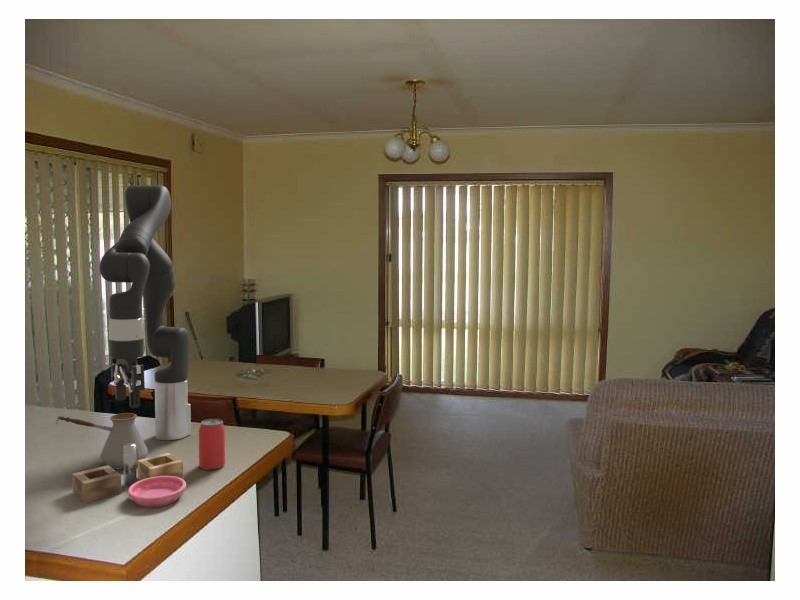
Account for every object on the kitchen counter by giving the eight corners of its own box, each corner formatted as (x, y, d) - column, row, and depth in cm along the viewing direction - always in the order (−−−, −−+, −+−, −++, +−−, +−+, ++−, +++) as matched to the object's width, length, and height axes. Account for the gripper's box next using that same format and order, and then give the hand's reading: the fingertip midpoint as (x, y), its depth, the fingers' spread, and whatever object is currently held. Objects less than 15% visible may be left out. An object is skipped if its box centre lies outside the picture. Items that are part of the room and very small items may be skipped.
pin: (133, 481, 148) (133, 442, 147) (138, 484, 146) (137, 444, 145) (122, 484, 146) (121, 444, 145) (126, 488, 144) (126, 447, 143)
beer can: (230, 463, 162) (230, 419, 160) (214, 472, 155) (214, 426, 154) (209, 459, 164) (209, 417, 163) (193, 468, 158) (193, 423, 156)
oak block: (168, 469, 156) (168, 452, 156) (183, 478, 151) (183, 461, 150) (137, 477, 150) (137, 460, 150) (151, 487, 145) (151, 469, 145)
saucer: (167, 513, 132) (167, 499, 132) (116, 507, 134) (116, 494, 134) (195, 490, 144) (195, 477, 144) (148, 485, 146) (148, 473, 146)
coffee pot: (143, 453, 168) (142, 400, 166) (152, 466, 158) (151, 410, 157) (55, 467, 156) (53, 410, 154) (58, 482, 146) (57, 422, 145)
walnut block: (108, 482, 147) (107, 465, 146) (121, 493, 141) (120, 474, 141) (72, 492, 141) (72, 473, 141) (84, 503, 136) (84, 483, 135)
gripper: (154, 339, 140) (155, 407, 142) (130, 331, 150) (131, 395, 152) (121, 342, 135) (123, 413, 137) (98, 334, 145) (100, 400, 147)
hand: (127, 403), depth 144 cm, fingers open, 8 cm apart
